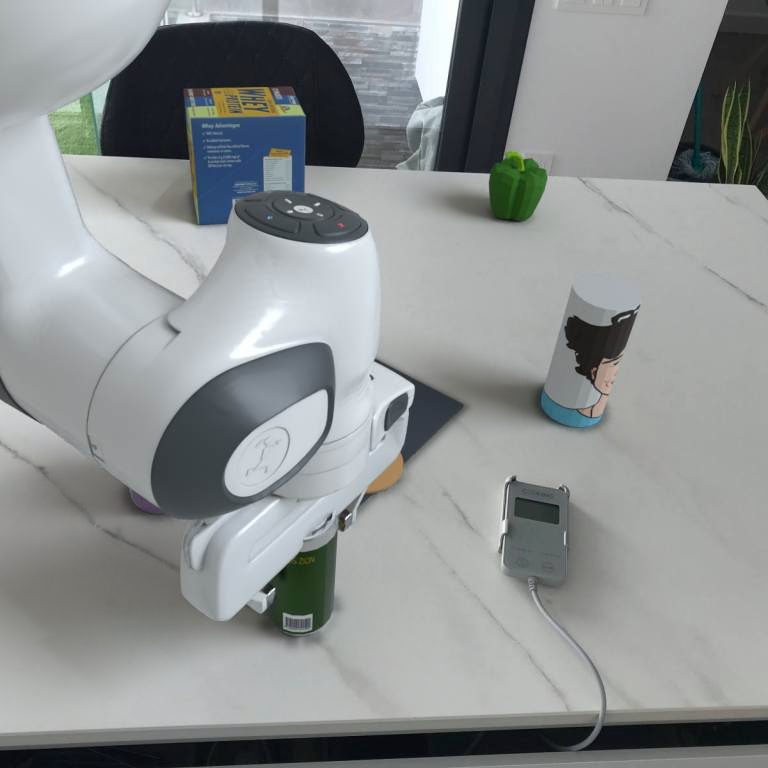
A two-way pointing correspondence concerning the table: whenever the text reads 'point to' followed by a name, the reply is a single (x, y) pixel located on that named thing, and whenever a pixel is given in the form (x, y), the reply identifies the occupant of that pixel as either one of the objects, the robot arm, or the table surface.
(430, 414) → the placemat
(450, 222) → the table surface
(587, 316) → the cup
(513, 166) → the bell pepper
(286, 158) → the protein box
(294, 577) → the beer can
